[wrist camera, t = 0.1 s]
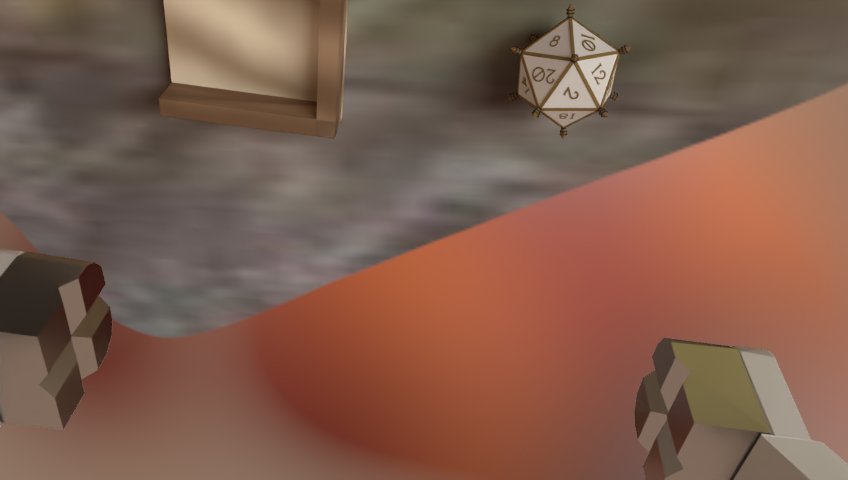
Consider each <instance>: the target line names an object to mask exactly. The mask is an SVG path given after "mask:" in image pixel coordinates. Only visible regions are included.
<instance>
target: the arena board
mask: <svg viewBox="0 0 848 480" xmlns="http://www.w3.org/2000/svg"><path fill="white" fill-rule="evenodd" d="M164 11H165V21H166V31H167V41H168V51H169V61H170V71H171V81H172V82H171V84H170V85H169V86H168V87H167V89H166V90H165V91H164V93H163V94H162V95H161V96H160V98H159V106H160V114H161V116H168V117H175V118H183V119H190V120H198V121H205V122H213V123H220V124H228V125H236V126H243V127H251V128H258V129H266V130H273V131H281V132H288V133H296V134H303V135H311V136H318V137H326V138H333V139H335V136H336V133H337V130H338V127H339V124H340V121H341V118H342V112H343V93H344V74H345V55H346V35H347V16H348V0H164Z"/></svg>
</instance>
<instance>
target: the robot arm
mask: <svg viewBox="0 0 848 480" xmlns="http://www.w3.org/2000/svg"><path fill="white" fill-rule="evenodd" d="M105 284H106V283H105V279H104V275H103V271H102V266H100V265H99V264H97V263H95V262H91V261H84V260H78V259H72V258H65V257H59V256H52V255H46V254H40V253H33V252H22V251H15V250H9V249H3V248H0V428H1V427H2V425H1V424H12V425H21V426H31V427H41V428H51V429H60V430H63V429H64V428H65V426H66V425H67V423H68V421H69V419H70V418H71V415H72V414H73V412H74V410H75V409H76V407H77V405H78V404H79V402H80V400H81V399H82V397H83V395H84V393H85V392H84V388H83V384H82V379H83V378H85V377H86V376H88V375H89V374H91V373H93V372H95V371H96V370H98V369H99V367H100V365H101V363H102V361H103V360H104V358H105V356H106V354H107V350H108V347H109V343H110V340H111V336H112V315H111V310H110V307H109V306H108V304H107V303H106V302H105V301H104V300H103V299H102V298H101V297H100V296H99V294H100V292H101V291H102V289H103V287H104V286H105ZM652 357H653V361H654V366H655V371H653V372H651V373H650V374H648V375H647V376H645V377H643V379H642V382H641V385H640V387H639V390H638V392H637V397H636V404H635V428H636V434H637V439H638V441H639V442H640V443H641V444H642V445H643V446H644V447H645V449H646V450H647V451H648V452H649V454H648V456H647V458H646V460H645V463H644V465H643V468H644V474H645V479H646V480H848V464H847V463H846V462H845V461H843V460H842V459H841V458H840V457H839V456H838V455H836V454H835V453H834V452H833V451H832V450H831V449H830V448H828V447H827V446H826V445H825V444H824V443H823V442H818V441H812V440H811V438H810V436H809V434H808V432H807V429H806V427H805V425H804V423H803V420H802V418H801V416H800V413H799V411H798V409H797V407H796V404H795V402H794V400H793V398H792V395H791V393H790V391H789V389H788V386H787V384H786V382H785V380H784V377H783V375H782V373H781V370H780V368H779V366H778V364H777V361H776V359H775V357H774V355H773V354H772V353H770V352H769V351H768V350H762V349H755V348H746V347H737V346H732V347H730V346H725V345H717V344H710V343H702V342H693V341H685V340H677V339H670V338H663V339H662V340H661V341H660V342H659V343H658V345H657V347H656V349H655V352H654V354H653V356H652Z"/></svg>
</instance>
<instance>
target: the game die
mask: <svg viewBox="0 0 848 480" xmlns="http://www.w3.org/2000/svg"><path fill="white" fill-rule="evenodd" d="M566 10H567V13H566V14H567V15H568V17H567V18H566V19H565V20H563V21H562V22H560V23H559V24H558V25H556V26H555V27H553V28H552V29H551V30H549V31H548V32H546V33H545V34H544V35H542V36H541V37H539V38H538V39H537V36H535V35H529V40H531V41H532V42H533V43H531V44H530V45H529V46H527V47H526V48H524V49H523V50H522V51H521V50H520V48H518V47H516V46H515V47H512V48H511V50H512V52H513V54H516V55H520V60H519V75H518V91H517V93H513V94H510V96H509V98H508V99H509V100H512V101H513V100H514V99H517V97H520V98H521V99H522V100H524V101H525V102H527V103H528V104H529V105H531V106H532V107H534V108H535V110H534V111H533V112H532V115H533V117H539V115H540V113H542V114H543V115H545V116H546V117H547V118H549V119H550V120H552V121H553V122H554V123H556V124H557V125H559V126H560V127H561V130H560V135H561V137H562V138H564V137H565V136H566V135H567V134H566V132H567V131H566V127H568V126H570V125H572V124H574V123H576V122H578V121H580V120H582V119H584V118H586V117H588V116H590V115H592V114H594V113H596V112H598V111H599V115H601V117H608V115H607V113H608V112H607V111H606V110H605V109H604V108H602V107H603V106H604V104H605V103H606V101H607V100H608V98H609V97H610V98H612V99H613V100H616V99H619V97H618V94H617V93H615V92H614V93H612V89H613V84H614V80H615V75H616V70H617V66H618V61H619V57H620V54H625V53H628V51H629V50H630V48H631V46H626V45H625V46H624V47H621V49H619V50H618V49H617V48H615V47H614V46H613V45H611V44H610V43H608V42H607V41H605V40H604V39H603V38H601V37H600V36H599V35H598V34H596V33H594V32H593V31H591V30H590V29H588V28H587V27H586V26H584V25H583V24H581V23H580V22H579V21H577V20H576V19H574V18H573V14H574V10H575V9H573V7H572V5H570V6H569V8H568V9H566Z"/></svg>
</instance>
